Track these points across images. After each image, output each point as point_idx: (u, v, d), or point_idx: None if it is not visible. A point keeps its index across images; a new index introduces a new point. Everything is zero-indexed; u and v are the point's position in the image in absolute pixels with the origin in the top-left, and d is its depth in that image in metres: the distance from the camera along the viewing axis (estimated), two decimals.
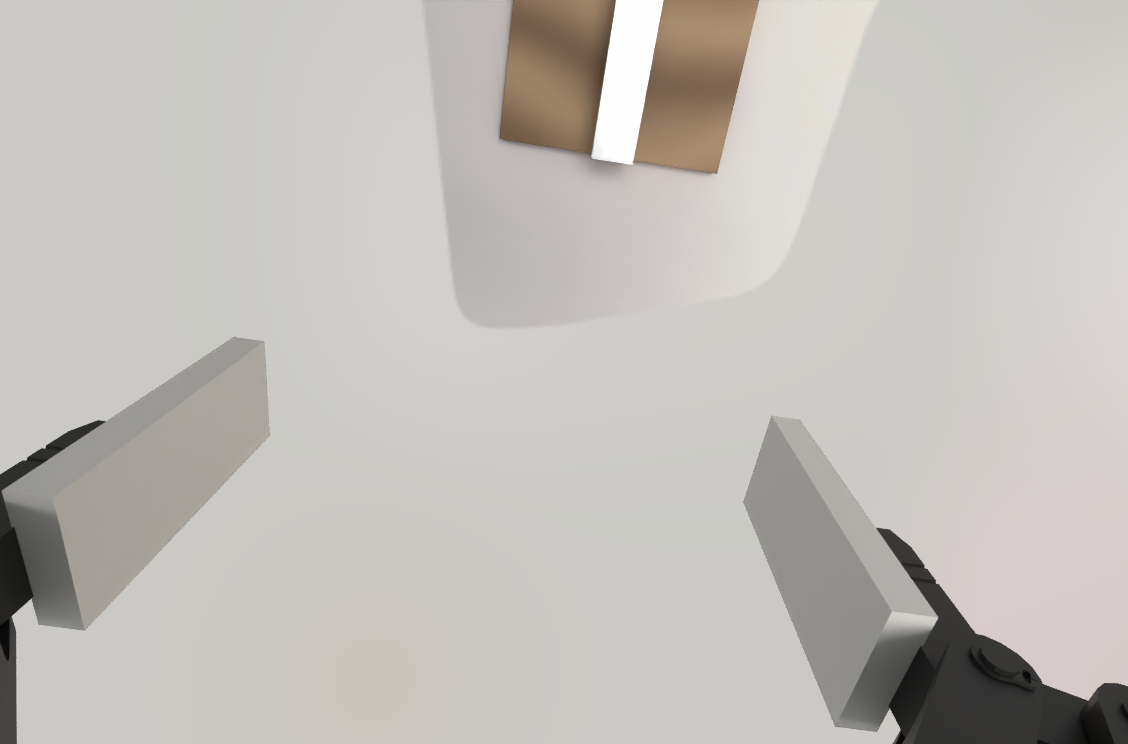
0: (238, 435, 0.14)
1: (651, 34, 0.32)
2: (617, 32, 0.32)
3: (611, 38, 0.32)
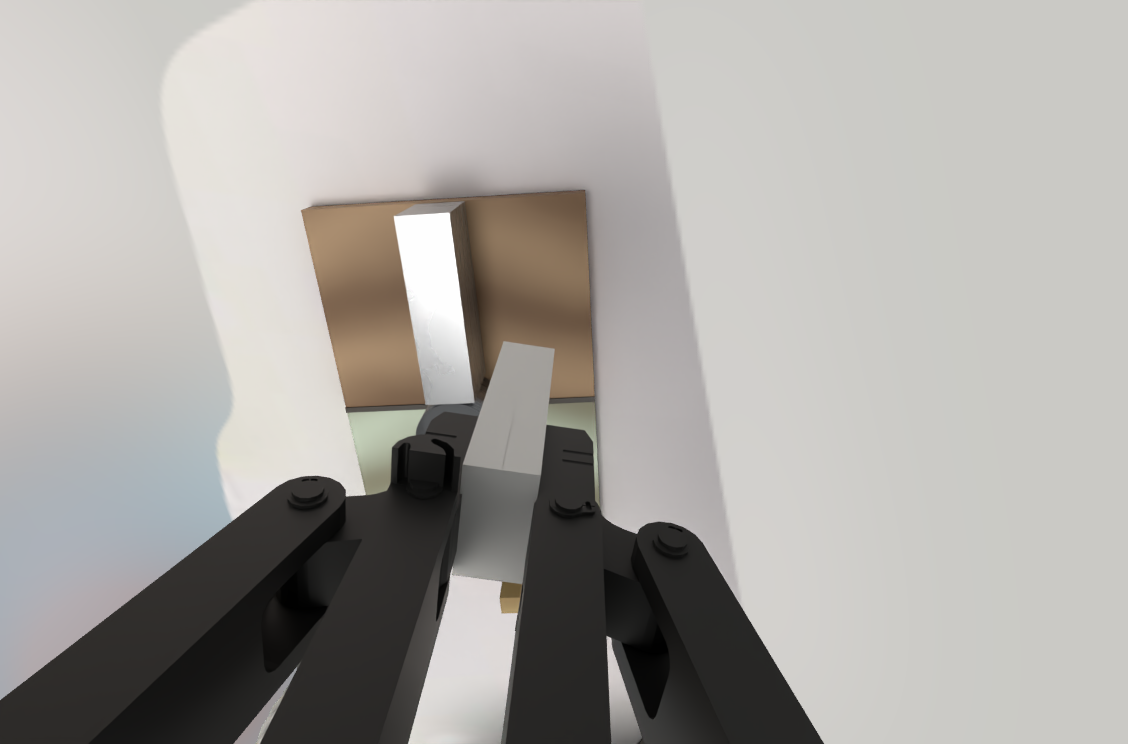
0: None
1: (423, 358, 0.28)
2: (460, 354, 0.28)
3: (465, 347, 0.28)
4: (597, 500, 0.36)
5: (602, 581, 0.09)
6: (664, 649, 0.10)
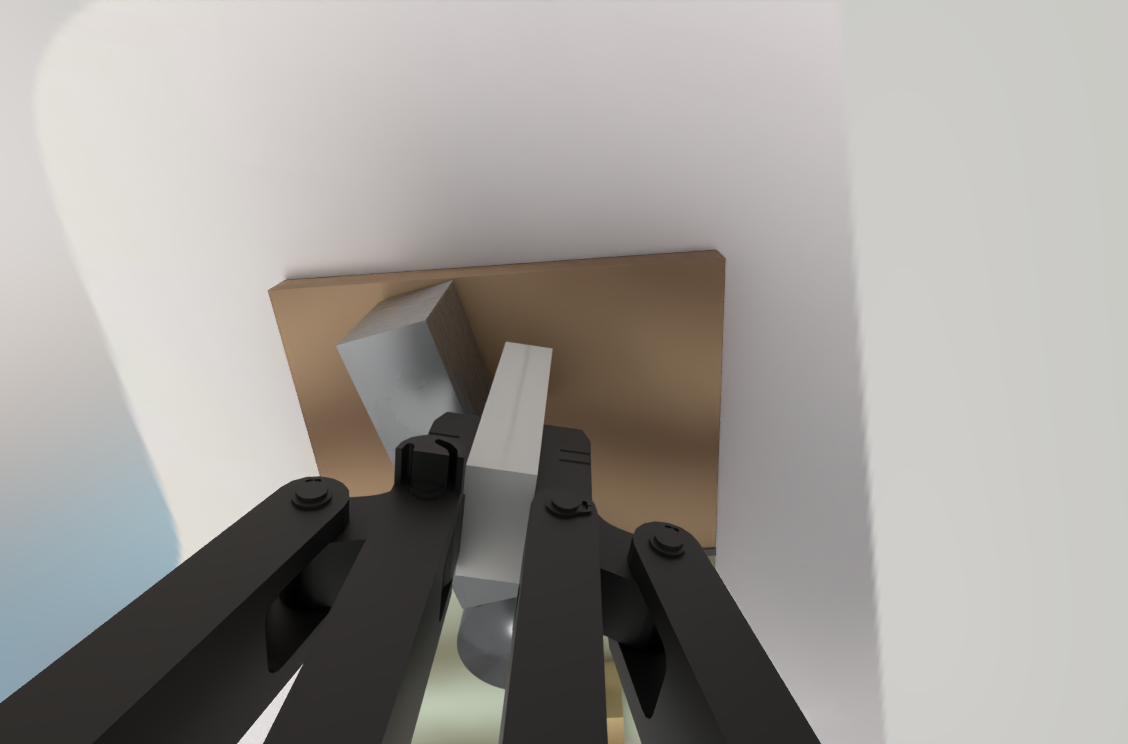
0: None
1: None
2: None
3: None
4: None
5: (599, 581, 0.09)
6: (661, 649, 0.10)
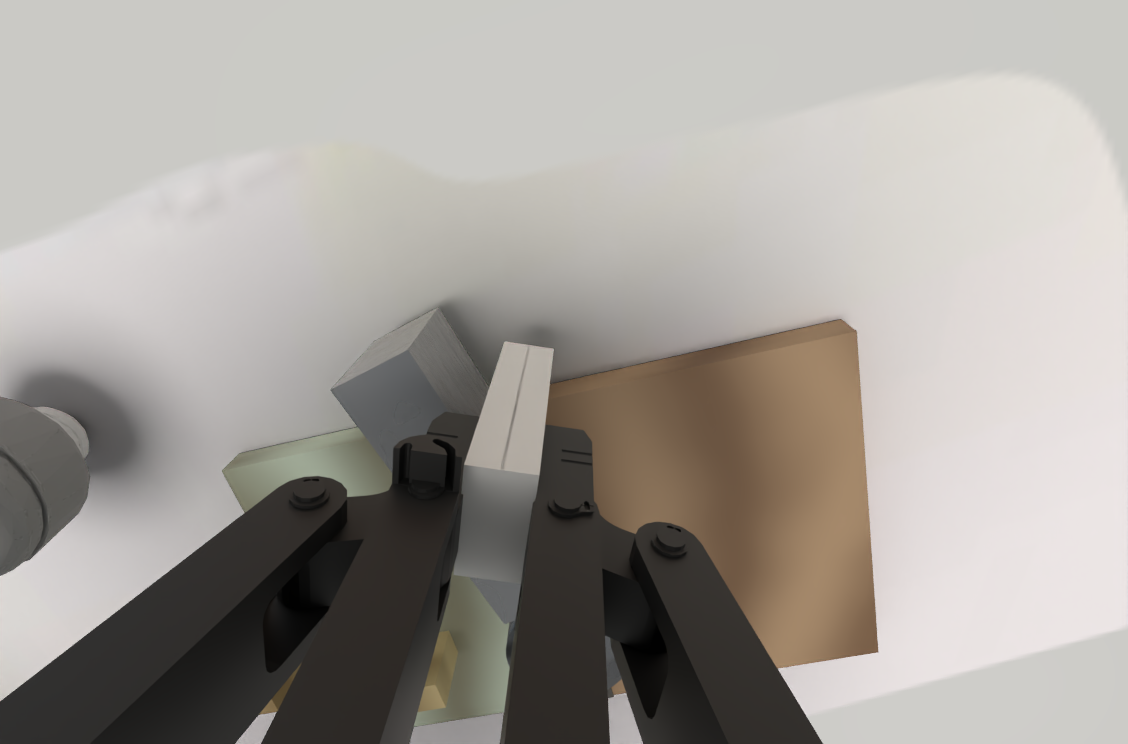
0: None
1: None
2: None
3: None
4: (457, 718, 0.26)
5: (601, 581, 0.09)
6: (662, 649, 0.10)
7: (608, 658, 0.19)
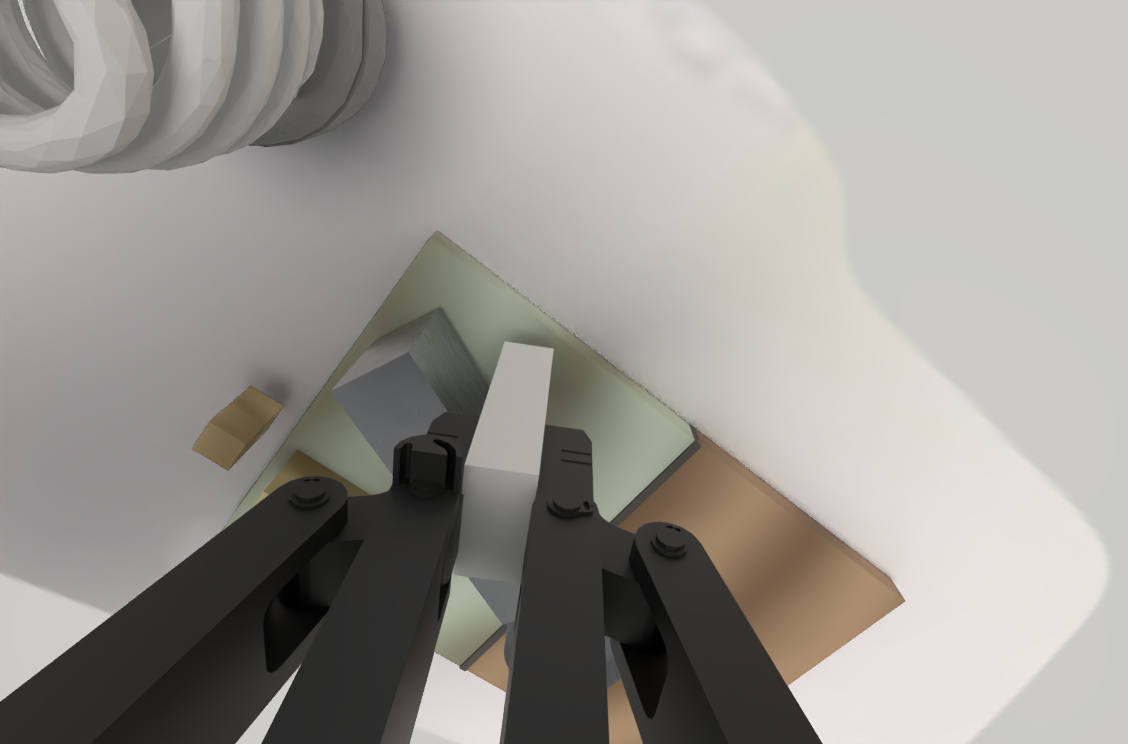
0: None
1: None
2: None
3: None
4: None
5: (601, 581, 0.09)
6: (662, 649, 0.10)
7: (606, 659, 0.19)
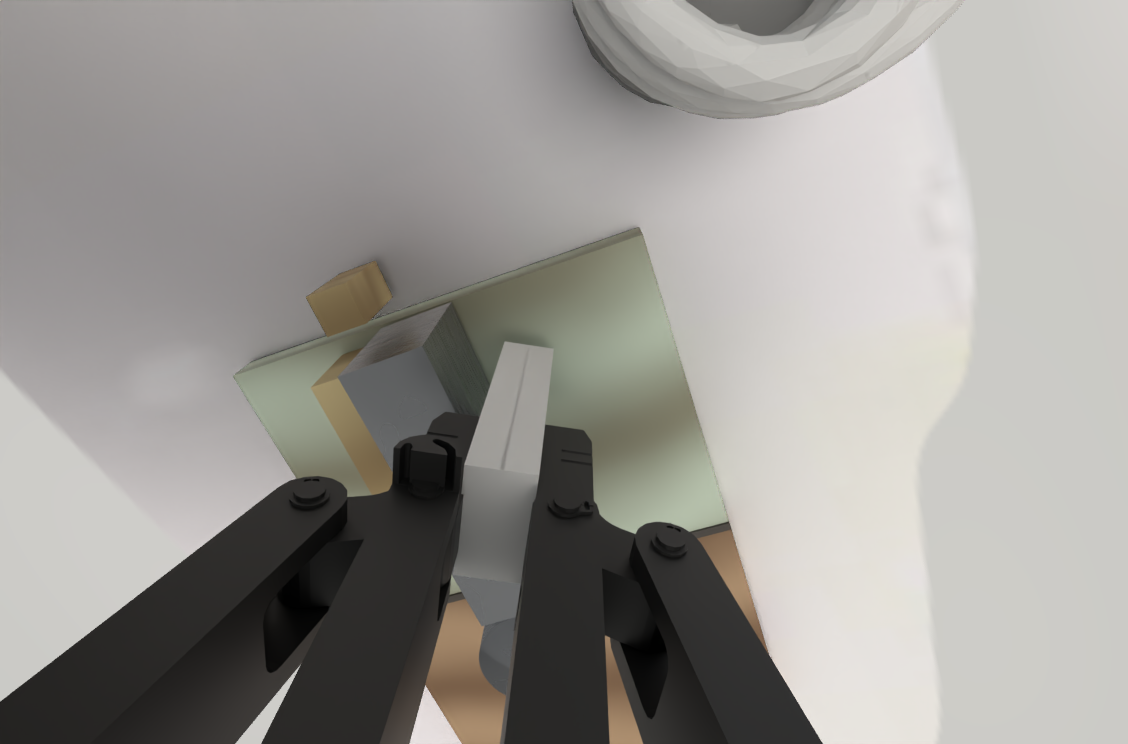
0: None
1: None
2: None
3: None
4: None
5: (601, 581, 0.09)
6: (662, 649, 0.10)
7: None
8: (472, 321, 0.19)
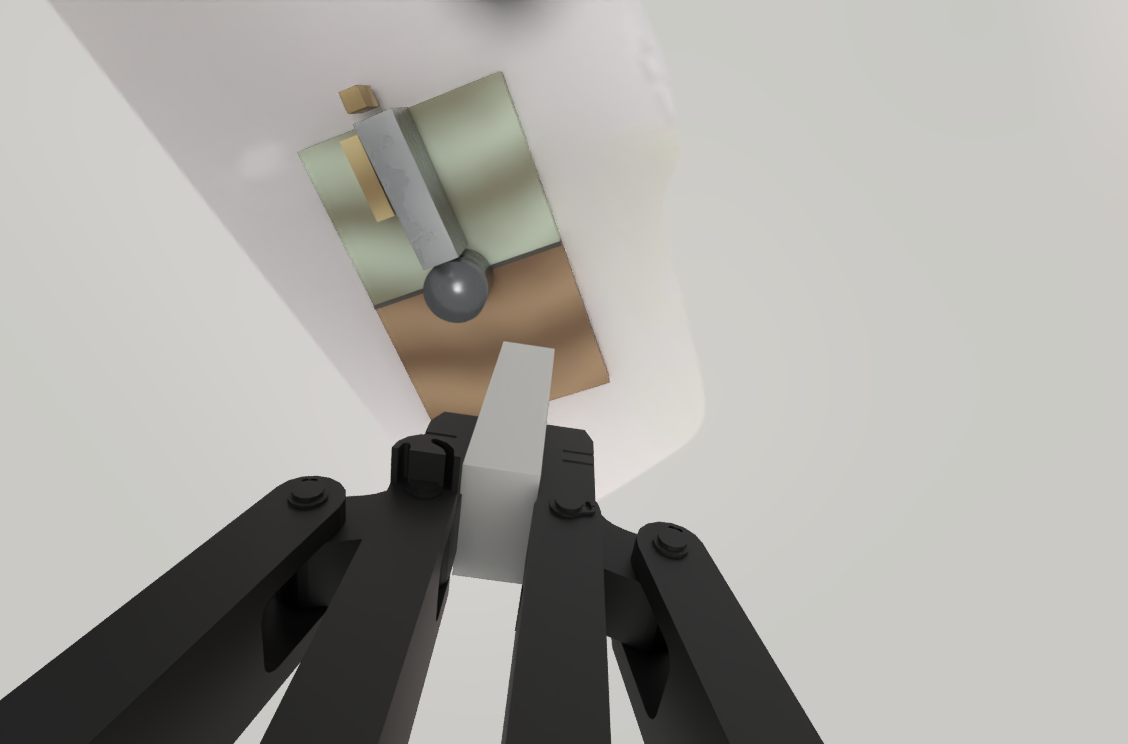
0: None
1: (410, 232, 0.36)
2: (435, 219, 0.36)
3: (437, 212, 0.36)
4: (330, 215, 0.40)
5: (602, 581, 0.09)
6: (664, 649, 0.10)
7: (474, 298, 0.38)
8: (419, 119, 0.38)
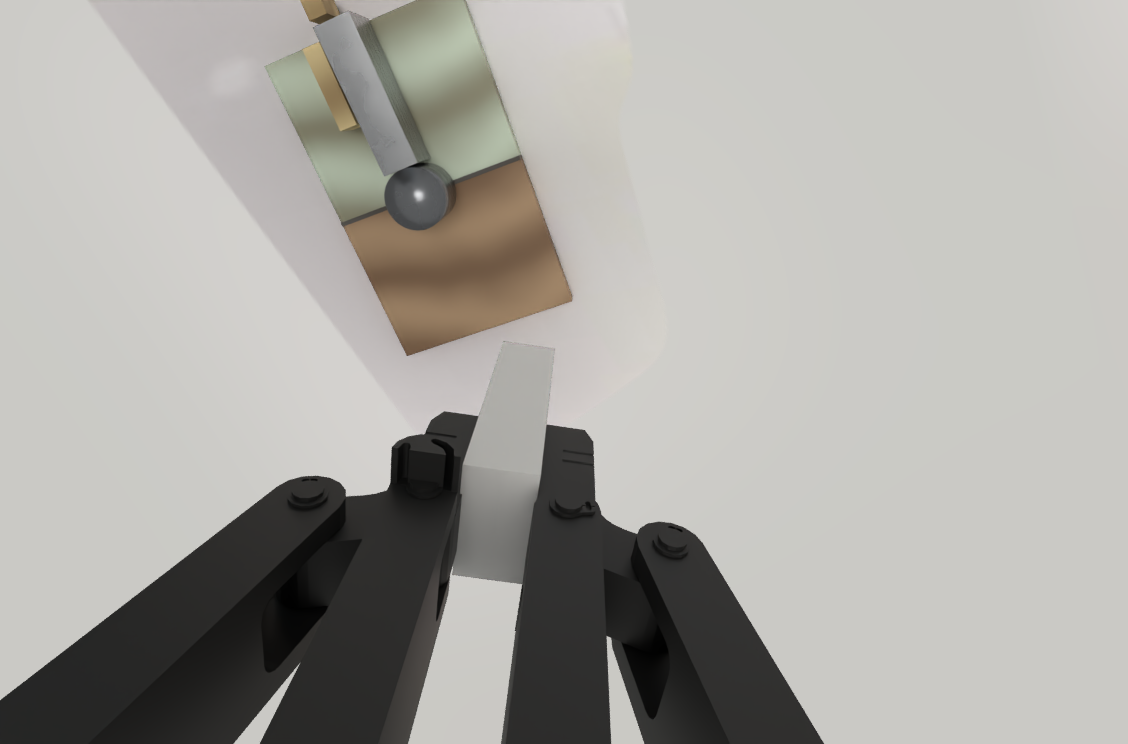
0: None
1: (370, 137, 0.38)
2: (394, 124, 0.38)
3: (395, 117, 0.37)
4: (297, 130, 0.42)
5: (602, 581, 0.09)
6: (664, 649, 0.10)
7: (433, 204, 0.39)
8: (380, 32, 0.39)
